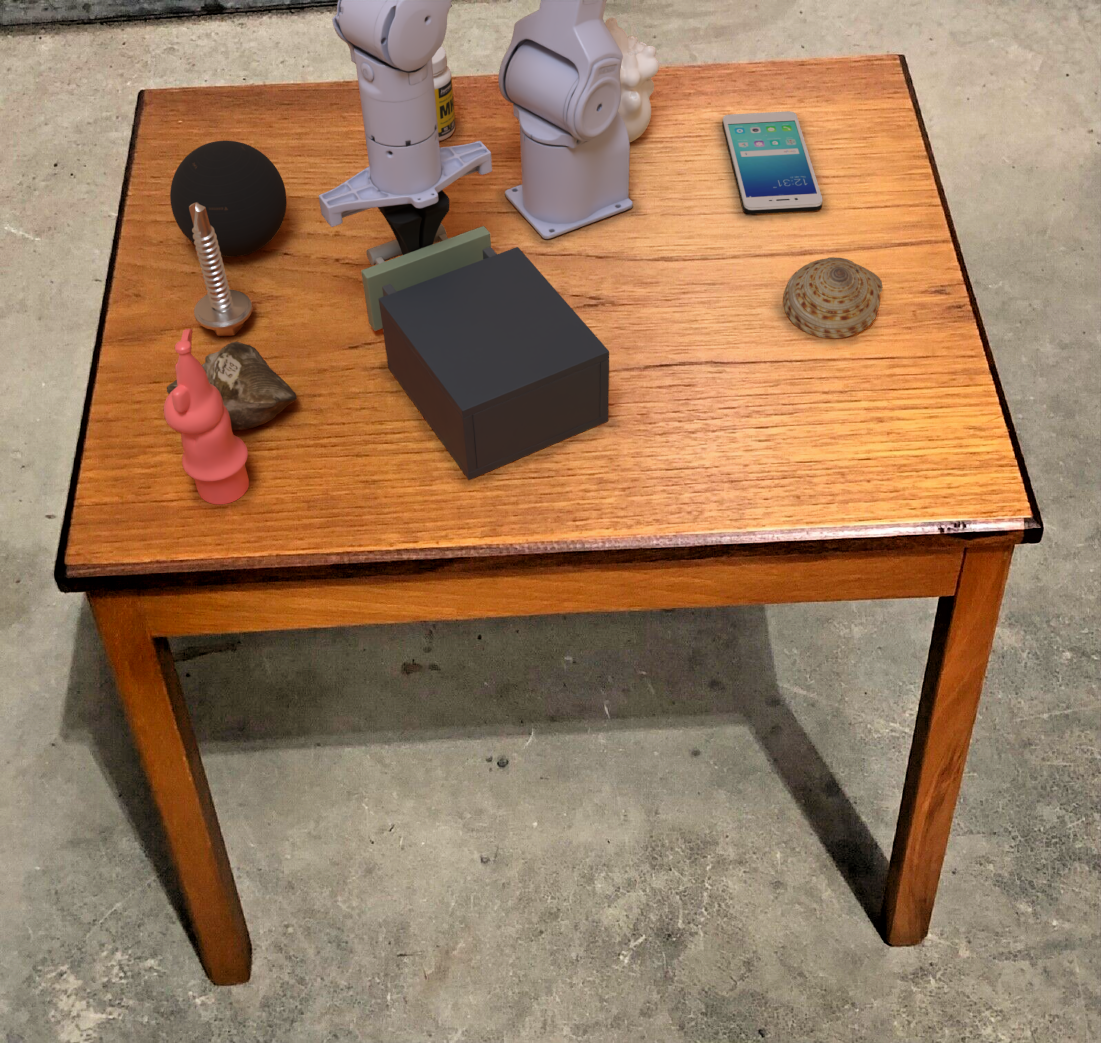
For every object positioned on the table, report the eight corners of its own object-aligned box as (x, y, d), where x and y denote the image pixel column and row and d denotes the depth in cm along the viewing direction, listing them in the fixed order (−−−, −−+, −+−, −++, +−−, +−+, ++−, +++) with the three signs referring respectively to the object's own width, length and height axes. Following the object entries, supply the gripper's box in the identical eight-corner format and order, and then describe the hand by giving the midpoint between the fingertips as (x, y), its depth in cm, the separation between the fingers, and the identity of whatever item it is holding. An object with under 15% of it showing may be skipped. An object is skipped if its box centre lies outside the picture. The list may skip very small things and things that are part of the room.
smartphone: (796, 110, 141) (825, 203, 131) (795, 117, 141) (824, 211, 131) (720, 114, 140) (744, 208, 131) (720, 121, 141) (743, 215, 131)
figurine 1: (191, 462, 113) (146, 318, 101) (257, 458, 113) (219, 313, 101) (186, 512, 109) (139, 368, 98) (253, 506, 110) (214, 362, 98)
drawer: (347, 294, 124) (339, 241, 120) (465, 251, 127) (460, 198, 123) (439, 421, 114) (434, 368, 109) (564, 371, 117) (563, 317, 113)
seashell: (897, 262, 123) (879, 285, 117) (880, 323, 126) (862, 350, 119) (805, 238, 126) (783, 260, 119) (791, 299, 128) (768, 323, 122)
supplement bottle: (449, 146, 139) (442, 69, 133) (402, 141, 140) (393, 64, 134) (461, 118, 142) (455, 41, 136) (415, 113, 143) (407, 37, 137)
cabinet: (388, 368, 119) (378, 298, 113) (521, 316, 123) (517, 246, 117) (468, 480, 111) (462, 410, 105) (608, 421, 115) (609, 351, 109)
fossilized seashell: (143, 409, 113) (253, 460, 112) (162, 332, 111) (275, 383, 109) (192, 390, 120) (296, 438, 118) (212, 317, 118) (318, 365, 116)
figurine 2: (669, 144, 139) (674, 32, 130) (612, 168, 137) (614, 55, 127) (626, 111, 143) (629, -1, 134) (571, 133, 140) (570, 21, 131)
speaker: (219, 295, 126) (195, 201, 118) (163, 240, 131) (137, 147, 123) (315, 248, 130) (298, 155, 122) (258, 196, 135) (238, 104, 127)
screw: (202, 309, 125) (258, 307, 125) (195, 347, 121) (252, 344, 121) (169, 185, 115) (230, 183, 115) (160, 223, 111) (223, 221, 112)
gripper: (336, 181, 107) (357, 319, 117) (507, 123, 112) (513, 261, 122) (299, 134, 111) (323, 271, 121) (465, 80, 116) (474, 217, 126)
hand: (415, 263), depth 122 cm, fingers closed, pressing on drawer
